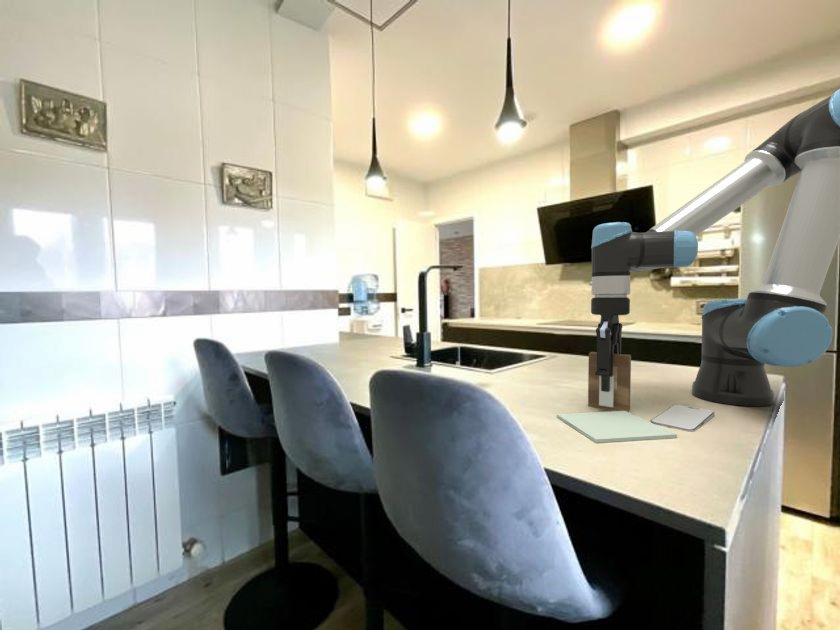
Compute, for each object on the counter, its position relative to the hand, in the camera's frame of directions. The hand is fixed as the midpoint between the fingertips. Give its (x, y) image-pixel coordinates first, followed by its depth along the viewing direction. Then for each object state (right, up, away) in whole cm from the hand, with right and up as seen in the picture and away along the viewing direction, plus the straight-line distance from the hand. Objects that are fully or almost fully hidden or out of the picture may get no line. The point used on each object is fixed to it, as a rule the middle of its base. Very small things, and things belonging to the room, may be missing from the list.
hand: (608, 403), depth 85 cm
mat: (-5, -2, -12) cm, 13 cm away
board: (0, -1, 0) cm, 1 cm away
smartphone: (+11, -2, -8) cm, 14 cm away
